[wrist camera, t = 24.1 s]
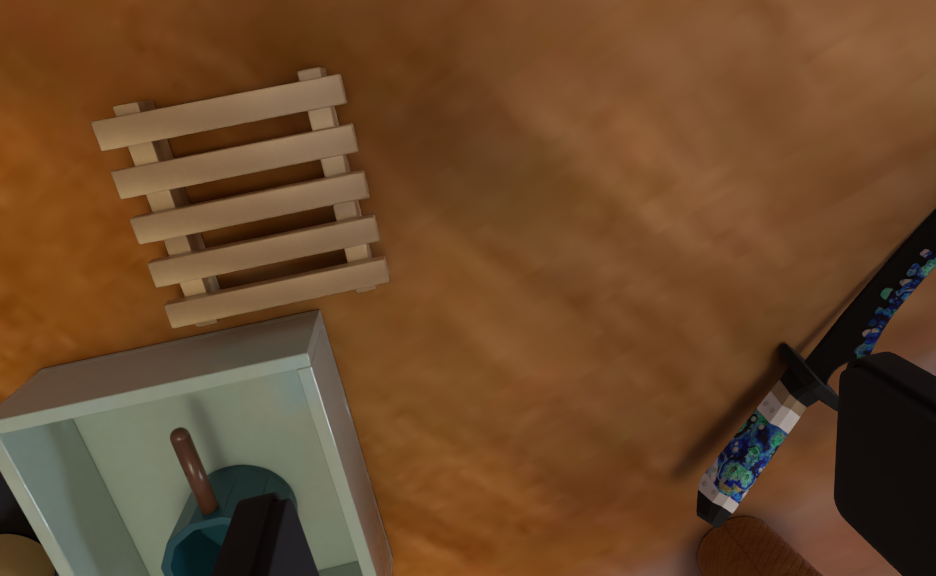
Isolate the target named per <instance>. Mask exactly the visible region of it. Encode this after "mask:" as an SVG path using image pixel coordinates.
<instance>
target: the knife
mask: <svg viewBox="0 0 936 576" xmlns="http://www.w3.org/2000/svg"><path fill="white" fill-rule="evenodd" d="M935 267H936V209H935V211H934V212H933V213H932V214H931V215H930V216H929V217H928V218H927V219H926V220H925V221H924V222H923V223H922V224H921V225H920V226H919V227H918V228H917V229H916V230H915V231H914V232H913V233H912V235H911V236H910V237H909V238H908V239H907V240H906V241H905V242H904V243H903V244H902V245H901V247H900V248H899V249H898V250H897V251H896V252H895V253H894V254H893V255H892V256H891V257H890V259H889V260H888V261H887V262H886V263H885V264H884V266H883V267H882V268H881V269H880V270H879V271H878V273H877V274H876V275H875V276H874V277H873V278H872V280H871V281H870V282H869V283H868V284H867V285H866V287H865V288H864V289H863V290H862V291H861V292H860V294H859V295H858V296H857V297H856V298H855V299H854V301H853V302H852V303H851V304H850V305H849V306H848V308H847V309H846V310H845V311H844V312H843V313H842V315H841V316H840V317H839V318H838V320H837V321H836V322H835V323H834V325H833V326H832V327H831V328H830V330H829V331H828V332H827V334H826V335H825V336H824V337H823V339H822V340H821V341H820V343H819V344H818V345H817V346H816V348H815V349H814V350H813V351H812V352H811V354H810V355H809V356H808V357H807V359H806V360H805V359H804V358H803V357H801V356H800V355H799V354H798V353H797V352H796V351H794V350H793V349H792V348H791V347H790V346H789V345H787V344H785V345H783V346H782V347H780V348H779V350H780V352H781V354H782V356H783V357H784V359H785V361H786V363H787V365H788V368H787V370H786V371H785V372H784V374H783V375H782V377H781V378H780V379H779V381H778V382H777V383H776V385H775V386H774V387H773V388H772V390H771V391H770V392H769V393H768V395H767V396H766V397H765V398H764V400H763V401H762V402H761V403H760V405H759V406H758V407H757V408H756V410H755V411H754V412H753V413H752V415H751V416H750V417H749V418H748V420H747V421H746V422H745V423H744V425H743V426H742V427H741V428H740V430H739V431H738V432H737V433H736V435H735V436H734V437H733V439H732V440H731V441H730V442H729V444H728V445H727V446H726V447H725V449H724V450H723V451H722V452H721V454H720V455H719V456H718V457H717V459H716V460H715V461H714V462H713V464H712V465H711V466H710V467H709V469H708V470H707V471H706V472H705V474H704V475H703V476H702V477H701V479H700V483H699V487H698V497H697V516H699V517H700V518H702V519H703V520H705V521H706V522H708V523H710V524H711V525H713V526H714V527H716V528H718V529H719V528H720V527H721V526H722V524H723V523H724V522H725V521H726V520H727V519H728V518H729V517H730V516H731V515H732V514H733V512H734V511H735V510H736V508H737V507H738V505H739V504H740V502H741V501H742V499H743V498H744V496H745V495H746V494H747V492H748V491H749V489H750V488H751V486H752V485H753V484H754V482H755V481H756V479H757V478H758V476H759V475H760V474H761V472H762V471H763V469H764V468H765V466H766V465H767V464H768V462H769V461H770V459H771V458H772V456H773V455H774V454H775V452H776V451H777V449H778V448H779V446H780V445H781V444H782V442H783V441H784V439H785V438H786V436H787V435H788V434H789V432H790V431H791V429H792V428H793V427H794V425H795V424H796V423H797V421H798V420H799V418H800V417H801V416H802V414H803V412H804V411H805V409H806V408H807V407H809V406H810V405H812V404H813V403H815V402H817V401H818V400H820V401H821V402H823V403H825V404H826V405H828V406H829V407H831V408H832V409H834V410H836V411H838V401H839V396H838V395H837V394H836V393H835V392H834V390H833V389H832V388H831V387H830V386H829V385H828V384H827V383H828V380H829V378H830V376H831V375H832V374H833V372H834V371H835V370H836V369H837V368H839V367H840V366H842V365H844V364H846V363H848V362H850V361H851V360H853V359H855V358H859V357H864V356H868V355H871V353H872V350H873V348H874V346H875V344H876V342H877V341H878V339H879V337H880V335H881V333H882V331H883V330H884V328H885V327H886V325H887V323H888V322H889V320H890V319H891V317H892V316H893V315H894V314H895V312H896V311H897V310H898V309H899V307H900V306H901V305H902V304H903V303H904V301H905V300H906V299H907V298H908V297H909V296H910V294H911V293H912V292H913V291H914V290H915V289H916V287H917V286H918V285H919V284H920V283H921V282H922V281H923V280H924V278H925V277H926V276H927V275H928V274H929V273H930V272H931V271H932V270H933V269H934V268H935Z"/></svg>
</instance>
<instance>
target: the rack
mask: <svg viewBox="0 0 936 576" xmlns="http://www.w3.org/2000/svg"><path fill="white" fill-rule="evenodd" d="M297 75H298V79H299V82H294V83H289V84H284V85H279V86H273V87H268V88H263V89H258V90H253V91H248V92H242V93H237V94H232V95H227V96H222V97H217V98H211V99H206V100H201V101H196V102H191V103H186V104H180V105H175V106H170V107H165V108H160V109H156V106H155V104H154V101H142V102H134V103H129V104H124V105H119V106H114V107H113V109H114V112H115V114H116V117H113V118H108V119H103V120H98V121H93V122H91V125H92V128H93V130H94V133H95V135H96V138H97V140H98V143H99V145H100V148H101V150H102V151H107V150H112V149H117V148H122V147H127V146H128V148H129V151H130V154H131V156H132V159H133V162H134V164H135V166H132V167H127V168H122V169H117V170H114V171H112V172H111V175H112V178H113V180H114V183H115V185H116V188H117V190H118V193H119V196H120V198H121V199H126V198H131V197H136V196H141V195H146V196H147V198H148V201H149V204H150V206H151V209H152V212H151V213H146V214H141V215H136V216H134V217H132V218H131V219H130V223H131V225H132V228H133V230H134V233H135V235H136V238H137V240H138V243H139V244H146V243H151V242H156V241H161V240H163V241H164V243H165V246H166V248H167V251H168V254H169V256H166V257H161V258H157V259H152V260H151V261H150V262H149V263H147V266H148V268H149V271H150V273H151V276H152V278H153V281H154V283H155V286H156V287H157V288H158V287H163V286H168V285H173V284H177V283H180V285H181V288H182V291H183V293H184V296H185V297H184V298H179V299H175V300H170V301H168V302H167V303H166V304H165V305H164V309H165V311H166V314H167V316H168V319H169V321H170V324H171V326H172V328H178V327H183V326H187V325H192V324H195V325H196V327H202V326H207V325H212V324H216V323H218V322H219V320H220V319H221V318H225V317H230V316H234V315H239V314H244V313H248V312H253V311H258V310H262V309H267V308H272V307H276V306H281V305H286V304H290V303H295V302H300V301H304V300H309V299H314V298H319V297H323V296H328V295H333V294H337V293H342V292H347V291H351V290H355V292H356V293H361V292H365V291H370V290H375V289H376V287H377V285H379V284H384V283H389V282H390V275H389V270H388V266H387V262H386V258H385V256H378V257H374V258H372V254H371V250H370V246H369V243H373V242H378V241H380V234H379V229H378V225H377V221H376V217H375V214H369V215H365V216H362V214H361V210H360V206H359V202H358V200H360V199H365V198H369V195H370V192H369V188H368V184H367V180H366V176H365V172H364V170H358V171H354V172H351V170H350V166H349V162H348V158H347V154H350V153H355V152H358V151H359V147H358V143H357V139H356V135H355V131H354V127H353V124H352V123H349V124H344V125H339V122H338V118H337V114H336V111H335V107H334V106H336V105H341V104H346V103H347V98H346V94H345V89H344V85H343V81H342V77H341V74H335V75H330V76H327V75H326V71H325V68H323V67H316V68H311V69H306V70H300V71H297ZM305 111H307V113H308V116H309V120H310V124H311V128H312V131H309V132H304V133H299V134H294V135H289V136H284V137H279V138H274V139H269V140H264V141H259V142H254V143H249V144H243V145H238V146H233V147H228V148H223V149H218V150H213V151H208V152H203V153H198V154H193V155H188V156H183V157H178V158H174V157H173V154H172V151H171V149H170V146H169V143H168V140H167V139H168V138H173V137H178V136H183V135H188V134H193V133H198V132H203V131H208V130H213V129H219V128H224V127H229V126H234V125H239V124H244V123H249V122H254V121H259V120H264V119H269V118H275V117H280V116H285V115H290V114H295V113H300V112H305ZM315 160H320V161H321V165H322V169H323V172H324V176H325V177H324V178H319V179H314V180H309V181H304V182H299V183H294V184H289V185H284V186H280V187H275V188H270V189H265V190H260V191H255V192H250V193H245V194H240V195H235V196H230V197H225V198H220V199H215V200H210V201H206V202H201V203H196V204H191V205H190V202H189V199H188V196H187V194H186V191H185V188H184V187H186V186H191V185H196V184H201V183H206V182H211V181H216V180H221V179H226V178H231V177H236V176H241V175H246V174H251V173H256V172H261V171H266V170H271V169H276V168H281V167H285V166H290V165H295V164H300V163H305V162H310V161H315ZM331 205H332V206H333V210H334V213H335V217H336V222H331V223H326V224H321V225H316V226H311V227H307V228H302V229H297V230H292V231H287V232H282V233H278V234H273V235H268V236H263V237H258V238H253V239H249V240H244V241H239V242H234V243H229V244H224V245H220V246H215V247H210V248H206V247H205V244H204V242H203V239H202V236H201V233H200V232H205V231H209V230H214V229H219V228H224V227H229V226H234V225H239V224H243V223H248V222H253V221H258V220H263V219H268V218H273V217H278V216H282V215H287V214H292V213H297V212H302V211H307V210H312V209H317V208H321V207H326V206H331ZM340 249H344V251H345V255H346V258H347V262H348V263H345V264H341V265H336V266H331V267H326V268H322V269H317V270H312V271H307V272H303V273H298V274H293V275H288V276H284V277H279V278H274V279H269V280H265V281H260V282H255V283H250V284H246V285H241V286H236V287H231V288H227V289H222V290H221V289H220V287H219V284H218V281H217V278H216V275H220V274H225V273H230V272H235V271H240V270H244V269H249V268H254V267H259V266H263V265H268V264H273V263H278V262H282V261H287V260H292V259H297V258H302V257H306V256H311V255H316V254H321V253H325V252H330V251H335V250H340Z"/></svg>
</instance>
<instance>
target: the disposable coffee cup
mask: <svg viewBox="0 0 936 576" xmlns="http://www.w3.org/2000/svg"><path fill="white" fill-rule="evenodd" d="M697 562H698V565H699V568H700V569H701V572H702V574H703V576H823V575H822V574H820V573H819V572H818V571H817V570H816V569H815V568H814V567H813V566H812V565H810V563H808V562H807V561H806V560H805V559H804V558H803V557H802V556H801V555H800V554H798V553H797V552H796V551H795V550H794V549H793V548H792V547H791V546H790V545H789V544H788V543H786V542H785V541H784V540H783V539H782V538H781V537H780V536H779V535H778V534H777V533H776V532H774V531H773V530H772V529H771V528H770V527H769V526H768V525H767V524H766V523H765V522H763V521H762V520H760V519H757V518H753V517H738V518H733V519H730V520H727V521H725V522H724V523H723V524H722V526H721V527H720V528H719V529H718V528H716V527H715V528H713V529H712V530H711V531H710V532H709V533H708V534H707V535H706V536H705V538H704V539H703V540H702V542H701V544H700V546H699V549H698V554H697Z"/></svg>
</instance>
